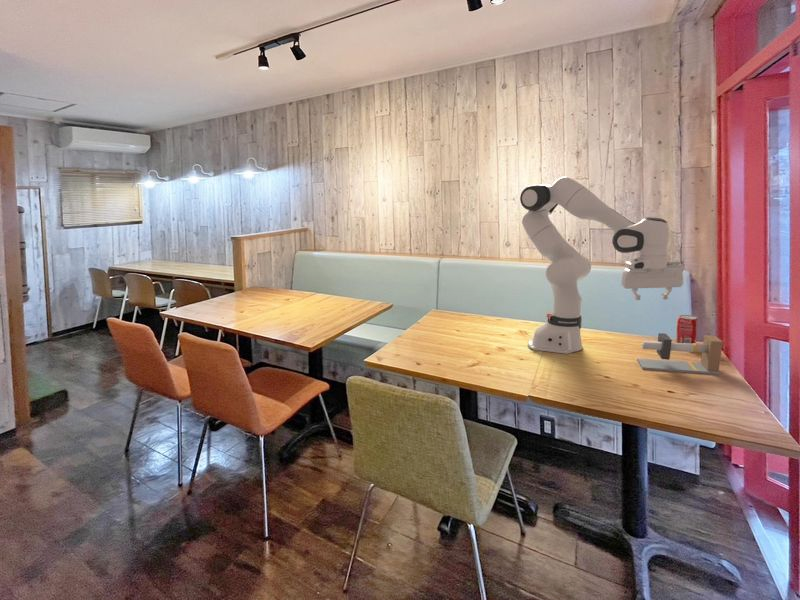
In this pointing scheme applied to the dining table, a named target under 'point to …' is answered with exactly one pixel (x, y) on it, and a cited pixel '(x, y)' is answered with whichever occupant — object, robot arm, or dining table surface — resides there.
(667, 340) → the grey rectangular frame
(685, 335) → the soda can
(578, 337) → the robot arm
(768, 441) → the dining table surface
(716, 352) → the pipe stand
